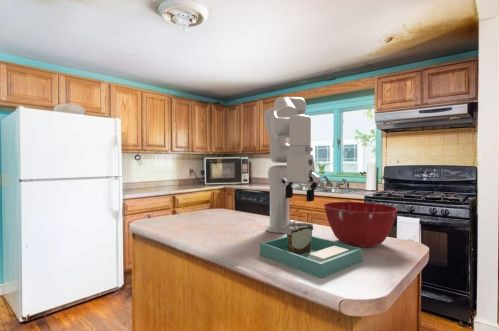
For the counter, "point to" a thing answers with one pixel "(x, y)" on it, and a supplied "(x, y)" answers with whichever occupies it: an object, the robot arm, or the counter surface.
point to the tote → (301, 262)
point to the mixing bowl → (360, 222)
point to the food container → (299, 237)
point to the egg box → (327, 253)
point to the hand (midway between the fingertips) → (299, 199)
